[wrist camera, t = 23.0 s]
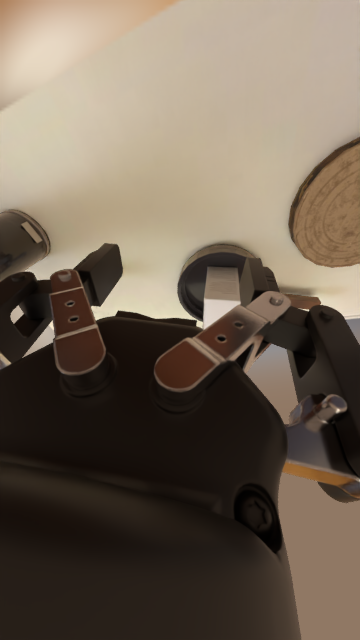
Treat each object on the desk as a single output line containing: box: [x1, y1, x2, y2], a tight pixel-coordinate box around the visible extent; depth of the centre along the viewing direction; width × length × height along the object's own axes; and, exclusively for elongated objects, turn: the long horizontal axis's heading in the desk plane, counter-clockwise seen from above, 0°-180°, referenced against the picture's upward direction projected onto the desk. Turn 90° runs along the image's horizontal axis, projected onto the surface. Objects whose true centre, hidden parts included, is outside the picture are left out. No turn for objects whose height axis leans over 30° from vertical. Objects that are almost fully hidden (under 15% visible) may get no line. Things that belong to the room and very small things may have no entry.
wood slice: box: [289, 137, 360, 268], centre depth 28 cm, size 16×16×3 cm
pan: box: [178, 245, 256, 322], centre depth 40 cm, size 16×16×4 cm
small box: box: [203, 267, 241, 329], centre depth 37 cm, size 8×6×10 cm
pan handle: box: [282, 293, 321, 310], centre depth 38 cm, size 10×2×2 cm, turn 88°
